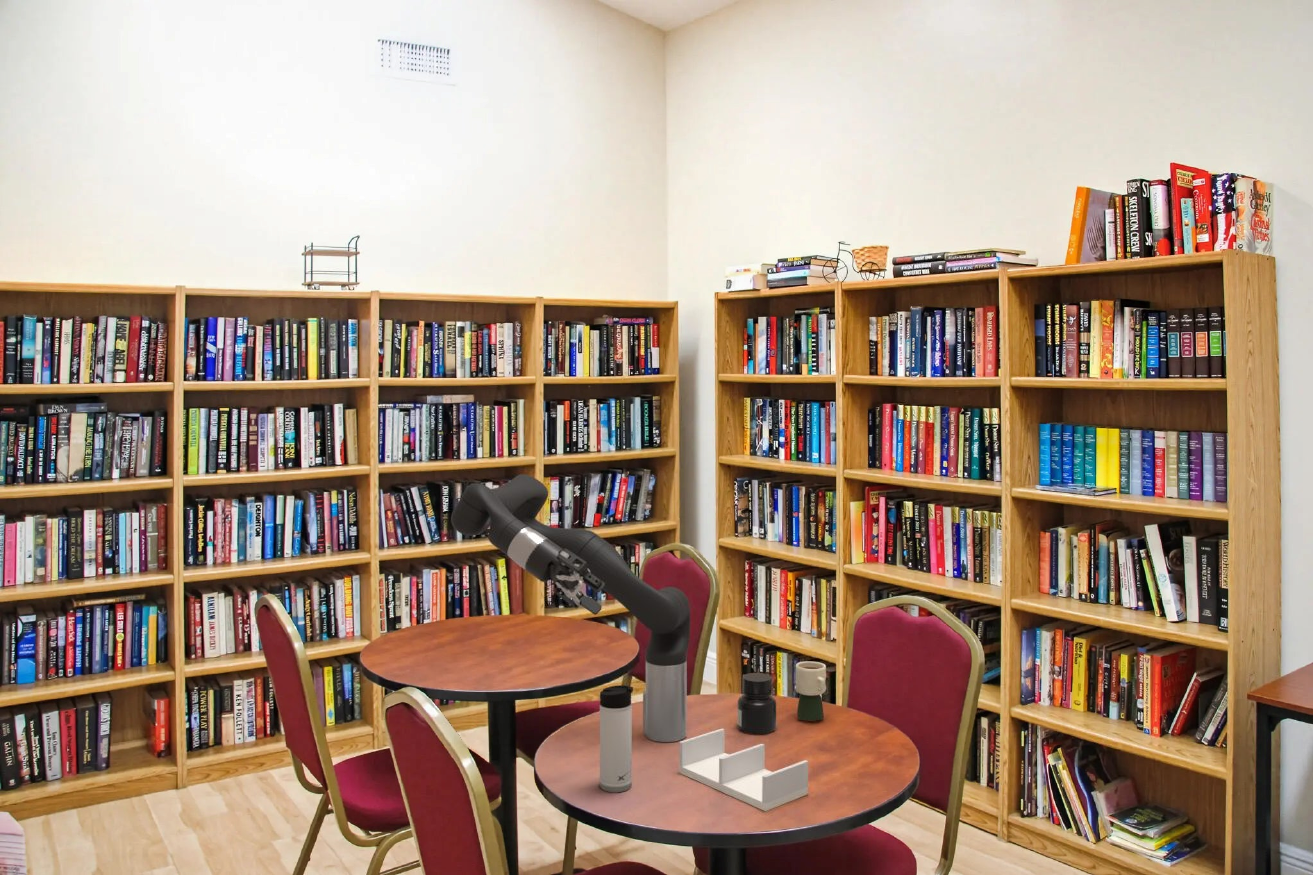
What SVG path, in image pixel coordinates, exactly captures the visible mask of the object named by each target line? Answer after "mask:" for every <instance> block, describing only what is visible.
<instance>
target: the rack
mask: <svg viewBox="0 0 1313 875" xmlns="http://www.w3.org/2000/svg"><path fill="white" fill-rule="evenodd" d="M765 750H766V748H765V744H764V743H760V744H759V743H758V744H756V745H754V746H750V747H747V748H745V749H742V750H739V751H735V752H733V753H730V754H729V753H726V752H725V729H724V728H719V729H716V730H713V731H709V732H706V733H703V734H700V735H697V736H694V737H691V738H688V739H685V740H684V739H683V740H680V741H679V774H681V775H684V776H685V777H688V778H690V779H693V780H694V781H697V782H699V783H701V784H703V785H705V786H708V787H710V788H712V789H715V790H717V791H719V792H722V793H723V794H726V795H727V796H730V797H732V798H735V799H737V800H739V801H741V802H743V803H746V804H748V805H750V806H752V807H755V808H757V809H759V810H762V811H764V812H767V811H770V810H772V809H775V808H777V807H779V806H782V805H784V804H787V803H790V802H792V801H795V800H797V799H799V798H802V797H804V796H807V795H809V761H808V760H806V759H804V760H802V761H799V762H796V763H793V764H791V765H789V766H786V767H784V768H780V769H778V770H775V771H771V770H769V769H767V768H765V762H766V761H765V756H766V755H765Z"/></svg>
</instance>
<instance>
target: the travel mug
mask: <svg viewBox="0 0 1313 875" xmlns="http://www.w3.org/2000/svg"><path fill="white" fill-rule="evenodd" d="M633 692H634V687H633V686H629V685H622V684H621V685H613V686H608V687H605V688H603V689H602V690H601V691H600V693H599V787H600V788H601V789H602V790H603V791H605V792H609V793H621V792H626V791H628V790H629V789H630V788H632V785H633V783H632V777H633V776H632V771H633V769H632V768H633V767H632V764H633V763H632V760H633V759H632V755H633V754H632V752H633V751H632V742H633V740H632V737H633V736H632V735H633V734H632V725H633V724H632V716H633V714H632V709H633V708H632V705H633V704H632V693H633Z"/></svg>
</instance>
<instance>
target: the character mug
mask: <svg viewBox="0 0 1313 875" xmlns="http://www.w3.org/2000/svg"><path fill="white" fill-rule="evenodd" d="M795 664H796V665H795V692H796V693H798V694H800V695H799V697H798V698H799V699H798V702H797V712H796V717H797V719H799V720H802V721H812V722H815V721H821V720H822V721H823V719H825V717H824V714H825V713H824V707H823V706H824V704H823V699H822V696H821V695H822V694H824V693H825V692H826V690H827V687H826V678H827V665H826V664H825V663H822V662H819V661H808V660H807V661H800V662H796V663H795Z"/></svg>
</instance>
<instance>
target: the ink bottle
mask: <svg viewBox="0 0 1313 875" xmlns="http://www.w3.org/2000/svg"><path fill="white" fill-rule="evenodd" d="M741 677H742V681H741V682H742V687H741V691H742V695H741V696H740V697H739V698H738V699H737V717H736V718H737V729H738V730H740V731H742V732H744V733H748V734H754V735H765V734H769V733H772V732H774V731H775V730H776V729H777V700H776V699H775V698H774V697H773V695H772V693H773V691H772V690H773V689H772V688H773V677H772V676H771V675H770V674H767V673H761V672H750V673H746V674H743V675H742V676H741Z"/></svg>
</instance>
